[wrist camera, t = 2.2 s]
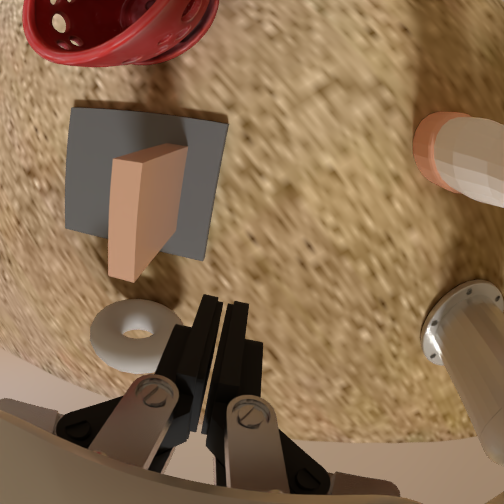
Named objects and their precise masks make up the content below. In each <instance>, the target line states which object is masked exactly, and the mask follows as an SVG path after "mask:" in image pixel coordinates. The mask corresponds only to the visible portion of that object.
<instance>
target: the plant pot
mask: <svg viewBox="0 0 504 504" xmlns="http://www.w3.org/2000/svg"><path fill="white" fill-rule="evenodd" d="M218 5H219V0H71V2H70V3H69V2H68V1H67V0H56V3H55V4H54V5H52V4H51V2H50V0H24V5H23V28H24V32H25V36H26V38H27V41H28V43H29V44H30V46H31V47H32V49H33V50H34V51H35V52H36V53H37V54H39V55H40V56H41V57H42V58H44V59H46V60H48V61H50V62H53V63H57V64H63V65H70V66H81V67H109V66H119V65H128V64H134V65H151V64H157V63H162V62H165V61H168V60H170V59H173V58H175V57H177V56H179V55H181V54H182V53H184V52H185V51H187V50H188V49H190V48H191V47H193V46H194V45H195V44H196V43H197V42H198V41H199V40H200V39H201V38H202V37H203V36H204V35H205V33H206V32H207V31H208V29H209V28H210V26H211V24H212V23H213V21H214V18H215V16H216V13H217V10H218ZM55 14H60V15H61V16H62V17H63V18H64V20H65V23H66V30H65V32H64V33H60V32H58V31H57V30H55V28H54V27H53V25H52V18H53V16H54V15H55ZM70 40H72V41H75V42H76V43H77V44H78V45H79V46H76V45H74V44H72V43H71V41H70ZM60 46H62V47H63V48H62V47H60ZM64 48H65V49H64Z"/></svg>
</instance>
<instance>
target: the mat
mask: <svg viewBox="0 0 504 504" xmlns="http://www.w3.org/2000/svg"><path fill="white" fill-rule="evenodd" d="M228 126H229V124H225V123H220V122H214V121H208V120H201V119H195V118H188V117H181V116H174V115H166V114H157V113H148V112H138V111H127V110H115V109H99V108H78V107H74V108H71V115H70V124H69V133H68V144H67V158H66V179H65V228H66V229H70V230H74V231H78V232H82V233H86V234H90V235H94V236H98V237H102V238H106V239H108V227H109V203H110V187H111V174H112V163H113V158H117V157H120V156H123V155H126V154H130V153H133V152H136V151H140V150H143V149H147V148H150V147H154V146H158V145H161V144H165V143H170V144H176V145H182V146H188V151H187V157H186V163H185V170H184V176H183V183H182V189H181V196H180V204H179V211H178V219H177V227H176V231H175V233H174V234H173V235H172V236H171V237H170V239H169V240H168V241H167V242H166V244H165V245H164V246H163V247H162V248H161V250H160V251H161V252H165V253H169V254H173V255H178V256H182V257H186V258H191V259H195V260H200V261H203V260H204V258H205V252H206V246H207V240H208V234H209V228H210V222H211V216H212V210H213V204H214V199H215V193H216V188H217V182H218V177H219V171H220V166H221V161H222V156H223V151H224V146H225V140H226V135H227V131H228Z"/></svg>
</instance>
